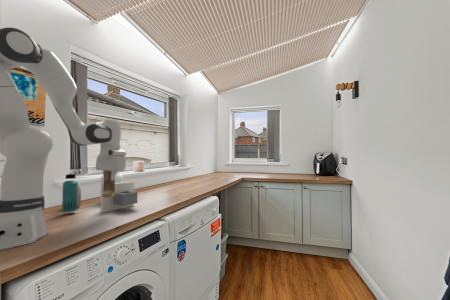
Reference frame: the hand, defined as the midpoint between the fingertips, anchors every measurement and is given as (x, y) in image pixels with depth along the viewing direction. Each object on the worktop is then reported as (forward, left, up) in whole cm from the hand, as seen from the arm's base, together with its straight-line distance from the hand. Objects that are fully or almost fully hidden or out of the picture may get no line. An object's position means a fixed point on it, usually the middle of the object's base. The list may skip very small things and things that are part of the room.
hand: (109, 180), depth 105 cm
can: (+18, +29, -18) cm, 39 cm away
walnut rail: (0, 0, -8) cm, 8 cm away
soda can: (-3, +31, -18) cm, 36 cm away
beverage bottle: (-9, +20, -18) cm, 28 cm away
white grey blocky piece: (+10, +4, -17) cm, 21 cm away
